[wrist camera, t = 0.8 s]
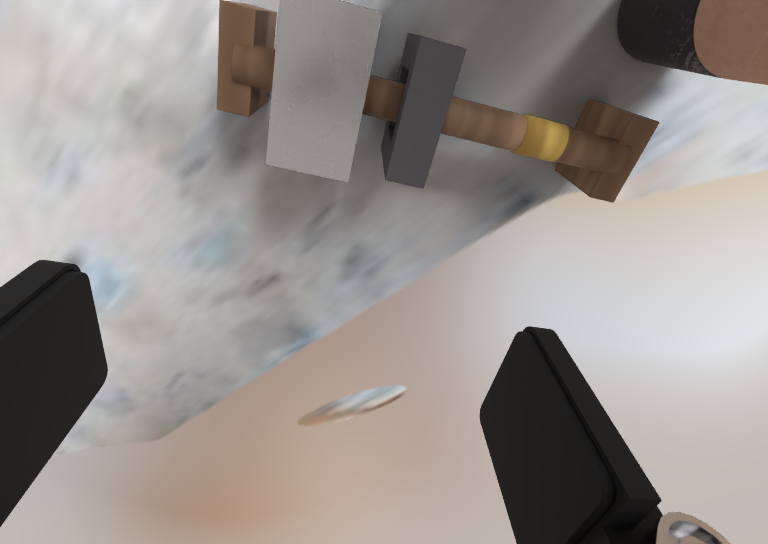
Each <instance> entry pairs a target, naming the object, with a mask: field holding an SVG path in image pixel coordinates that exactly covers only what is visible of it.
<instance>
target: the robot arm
mask: <svg viewBox="0 0 768 544" xmlns="http://www.w3.org/2000/svg"><path fill="white" fill-rule="evenodd" d="M107 372H108V368H107V362H106V358H105V353H104V348H103V343H102V338H101V334H100V329H99V324H98V319H97V314H96V310H95V305H94V300H93V295H92V291H91V286H90V281H89V278H88V276H87V274H85V273H82V272H81V271H80V269H79V267H78V266H77V265H74V264H70V263H62V262H55V261H48V260H39V261H37V262H35V263H33V264H32V265H31V266H29V267H28V268H27V269H25V270H24V271H22V272H21V273H20V274H18V275H17V276H15V277H14V278H13V279H11V280H10V281H8V282H7V283H6V284H4V285H3V286H2V287H0V527H1V525H2V524H3V523H4V521H5V520H6V518H7V517H8V516H9V514H10V513H11V511H12V510H13V509H14V507H15V506H16V505H17V503H18V502H19V500H20V499H21V498H22V496H23V495H24V494H25V492H26V491H27V489H28V488H29V487H30V485H31V484H32V482H33V481H34V480H35V478H36V477H37V475H38V474H39V472H40V471H41V470H42V469H43V467H44V466H45V464H46V463H47V462H48V460H49V459H50V458H51V456H52V455H53V453H54V452H55V451H56V449H57V448H58V447H59V445H60V444H61V442H62V441H63V440H64V438H65V437H66V435H67V434H68V433H69V431H70V430H71V429H72V427H73V426H74V424H75V423H76V422H77V420H78V419H79V417H80V416H81V415H82V413H83V412H84V411H85V409H86V408H87V406H88V405H89V404H90V402H91V401H92V399H93V398H94V397H95V395H96V394H97V393H98V391H99V390H100V388H101V387H102V386H103V384H104V382H105V380H106V377H107ZM480 422H481V426H482V428H483V432H484V436H485V439H486V442H487V446H488V449H489V452H490V456H491V459H492V462H493V466H494V469H495V472H496V475H497V479H498V483H499V486H500V489H501V492H502V496H503V499H504V503H505V506H506V509H507V513H508V516H509V519H510V522H511V526H512V529H513V532H514V536H515V539H516V543H517V544H730V543H729V542H728V541H727V540H726V539H725V538H724V537H723V536H722V535H721V534H720V533H719V532H717V531H716V530H715V529H713V528H712V527H711V526H709V525H708V524H706V523H705V522H703V521H701V520H699V519H697V518H695V517H693V516H691V515H687V514H684V513H681V512H668V513H667V514H665V515H664V516H663V515H662V513H661V512H660V510H659V509H658V507H657V505H658V504H659V503H660V502H661V498H660V497H659V495H658V494H657V492H656V491H655V489H654V487H653V486H652V484H651V483H650V481H649V480H648V478H647V477H646V475H645V473H644V472H643V470H642V468H641V467H640V465H639V464H638V462H637V460H636V459H635V457H634V456H633V454H632V453H631V451H630V449H629V448H628V446H627V445H626V443H625V441H624V440H623V438H622V437H621V435H620V434H619V432H618V430H617V429H616V427H615V426H614V424H613V423H612V421H611V419H610V418H609V416H608V415H607V413H606V411H605V410H604V408H603V407H602V405H601V404H600V402H599V400H598V399H597V397H596V396H595V394H594V392H593V391H592V389H591V388H590V386H589V385H588V383H587V382H586V380H585V378H584V377H583V375H582V373H581V372H580V370H579V369H578V367H577V366H576V364H575V362H574V361H573V359H572V358H571V356H570V355H569V353H568V351H567V350H566V348H565V347H564V345H563V344H562V342H561V340H560V339H559V337H558V336H557V334H556V333H555V332H554V331H553V330H551V329H545V328H538V327H530V326H529V327H526V328H525V329H524V330H523V332H518V333H517V334H516V335H515V337H514V339H513V342H512V343H511V345H510V348H509V350H508V352H507V354H506V356H505V358H504V360H503V362H502V364H501V366H500V369H499V371H498V373H497V375H496V377H495V379H494V381H493V383H492V385H491V387H490V389H489V391H488V393H487V395H486V397H485V400H484V402H483V404H482V406H481V409H480Z"/></svg>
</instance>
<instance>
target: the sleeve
mask: <svg viewBox="0 0 768 544" xmlns="http://www.w3.org/2000/svg"><path fill="white" fill-rule="evenodd" d="M382 14H383V13H381V12H378V11H375V10H371V9H368V8H364V7H361V6H357V5H354V4H351V3H347V2H344V1H340V0H280V5H279V16H278V27H277V39H276V50H275V61H274V73H273V84H272V95H271V107H270V118H269V129H268V140H267V152H266V163H265V165H270V166H274V167H279V168H283V169H288V170H293V171H297V172H302V173H306V174H311V175H316V176H320V177H325V178H329V179H334V180H338V181H343V182H349V177H350V172H351V167H352V162H353V157H354V152H355V147H356V142H357V137H358V132H359V127H360V122H361V117H362V113H363V108H364V103H365V98H366V93H367V88H368V83H369V78H370V73H371V68H372V63H373V58H374V53H375V48H376V43H377V38H378V34H379V29H380V24H381V19H382Z"/></svg>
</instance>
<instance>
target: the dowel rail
mask: <svg viewBox="0 0 768 544" xmlns="http://www.w3.org/2000/svg"><path fill="white" fill-rule="evenodd" d="M276 15H277V12H274V11H271V10H267V9H263V8H260V7H256V6H253V5H249V4H243V3H237V2H230V1H223V0H220V8H219V52H218V95H217V110H222V111H226V112H230V113H234V114H239V115H243V116H247V117H250V116H251V115H252V114H253V113H254V112H256V111H257V110H258V109H259V108H260V107H262V106H263V105H264V104H265V103H267V102H268V101H269V97H270V91H272V84H273V73H274V61H275V49H274V39H275V27H276ZM404 88H405V84H403V83H400V82H396V81H392V80H388V79H384V78H381V77H377V76H373V75H370V78H369V83H368V88H367V93H366V98H365V103H364V108H363V113H362V114H365V115H369V116H373V117H377V118H381V119H385V120H389V121H393V122H396V121H397V117H398V113H399V109H400V105H401V100H402V96H403V92H404ZM658 124H659V122H658V121H655V120H652V119H649V118H646V117H643V116H640V115H637V114H634V113H632V112H629V111H626V110H623V109H620V108H617V107H614V106H611V105H608V104H604V103H600V102H597V101H593V100H590V99H588V101H587V103H586V106H585V108H584V110H583V112H582V114H581V116H580V118H579V120H578V122H577V125H576V127H575V129H574V128H570V127H568V126H567V125H565V124H561V123H557V122H554V121H550V120H546V119H542V118H538V117H535V116H531V115H527V114H523V115H521V114H517V113H513V112H509V111H506V110H502V109H498V108H494V107H491V106H487V105H483V104H479V103H475V102H472V101H468V100H464V99H460V98H456V97H453V96H452V97H451V101H450V104H449V107H448V110H447V114H446V117H445V120H444V123H443V127H442V130H441V133H442V134H446V135H450V136H454V137H458V138H462V139H466V140H470V141H474V142H478V143H482V144H486V145H490V146H494V147H498V148H502V149H506V150H510V151H511V152H512V153H516V154H520V155H524V156H528V157H533V158H537V159H541V160H545V161H549V162H554V161H555V162H559V163H558V165H557V167H556V169H555V170H556V171H557V172H558V173H560V174H561V175H562V176H563V177H565V178H566V179H567V180H569V181H570V182H571V183H572V184H574V185H575V186H576V187H578V188H579V189H580V190H581V191H583V192H584V193H585V194H587V195H588V196H589V197H592V198H596V199H600V200H605V201H609V202H614V201H615V199H616V197H617V195H618V194H619V192H620V190H621V188H622V187H623V185H624V183H625V181H626V180H627V178H628V176H629V175H630V173H631V171H632V169H633V168H634V166H635V164H636V162H637V161H638V159H639V157H640V155H641V154H642V152H643V150H644V149H645V147H646V145H647V143H648V142H649V140H650V138H651V136H652V135H653V133H654V131H655V129H656V128H657V126H658Z"/></svg>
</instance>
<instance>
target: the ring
mask: <svg viewBox="0 0 768 544" xmlns="http://www.w3.org/2000/svg"><path fill="white" fill-rule="evenodd" d="M465 52H466V49H465V48H461V47H458V46H454V45H451V44H447V43H444V42H440V41H437V40H433V39H430V38H426V37H423V36H419V35H415V34H411V33H408V34H407V38H406V42H405V47H404V51H403V55H402V59H401V64H400V68H399V72H398V76H397V81H396V82H400V83H403V84H405V88H404V92H403V96H402V100H401V105H400V109H399V113H398V117H397V121H396V122H393V121H389V120H387V123H386V127H385V132H384V136H383V140H382V144H381V150H382V158H383V165H384V173H385V180H387V181H392V182H396V183H401V184H405V185H410V186H414V187H419V188H423V189H424V185H425V182H426V179H427V176H428V172H429V169H430V166H431V163H432V159H433V156H434V153H435V150H436V146H437V143H438V140H439V136H440V133H441V130H442V127H443V123H444V120H445V117H446V114H447V110H448V107H449V104H450V101H451V97H452V94H453V91H454V88H455V84H456V81H457V78H458V75H459V71H460V68H461V65H462V61H463V58H464V55H465Z"/></svg>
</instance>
